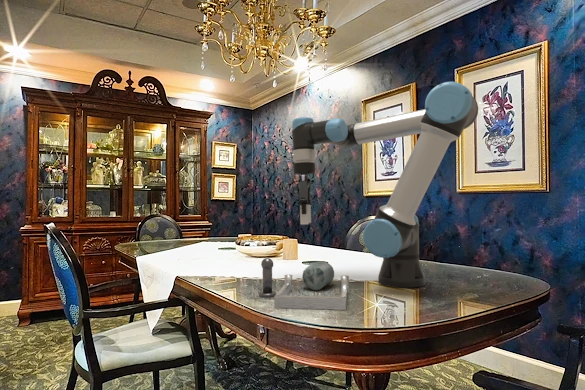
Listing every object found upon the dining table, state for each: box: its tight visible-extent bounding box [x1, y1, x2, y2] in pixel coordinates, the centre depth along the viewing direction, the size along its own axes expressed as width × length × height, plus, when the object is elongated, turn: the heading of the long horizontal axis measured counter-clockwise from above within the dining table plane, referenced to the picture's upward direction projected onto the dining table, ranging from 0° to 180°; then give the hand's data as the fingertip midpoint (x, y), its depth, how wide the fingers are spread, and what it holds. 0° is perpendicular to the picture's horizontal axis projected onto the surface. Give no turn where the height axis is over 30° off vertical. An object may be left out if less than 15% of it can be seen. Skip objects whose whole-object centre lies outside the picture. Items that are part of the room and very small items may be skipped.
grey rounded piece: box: [301, 260, 335, 291], centre depth 128 cm, size 14×10×10 cm
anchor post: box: [258, 257, 277, 298], centre depth 117 cm, size 5×5×11 cm
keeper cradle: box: [273, 274, 350, 311], centre depth 112 cm, size 20×20×5 cm
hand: (306, 223), depth 137 cm, fingers open, 13 cm apart
